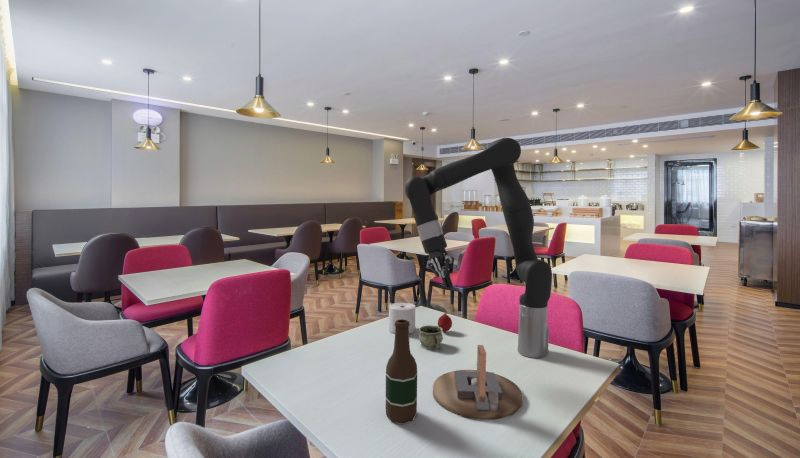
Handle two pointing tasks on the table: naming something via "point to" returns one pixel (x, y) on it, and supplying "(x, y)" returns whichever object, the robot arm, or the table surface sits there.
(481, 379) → the handled square nut
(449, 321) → the red oval fruit
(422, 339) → the vessel
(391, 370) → the beer bottle
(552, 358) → the table surface
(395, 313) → the toilet tissue
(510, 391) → the post base
